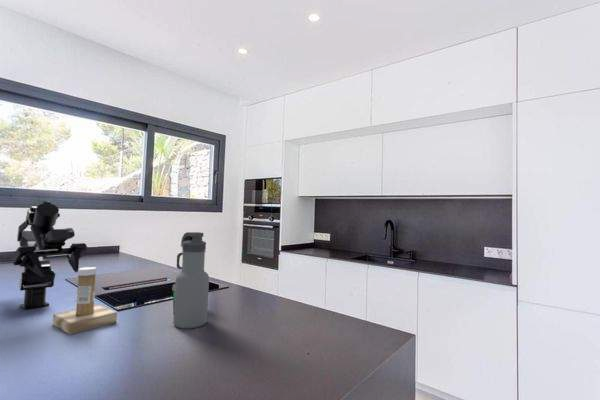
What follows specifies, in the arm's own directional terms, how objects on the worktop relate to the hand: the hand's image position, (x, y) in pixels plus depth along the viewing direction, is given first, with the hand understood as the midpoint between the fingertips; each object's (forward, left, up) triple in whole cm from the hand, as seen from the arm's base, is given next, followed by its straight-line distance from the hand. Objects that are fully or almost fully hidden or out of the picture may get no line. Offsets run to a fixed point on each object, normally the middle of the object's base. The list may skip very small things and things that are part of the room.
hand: (60, 273), depth 97 cm
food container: (+25, +30, -14) cm, 41 cm away
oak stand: (+12, +3, -14) cm, 18 cm away
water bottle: (+36, +22, -14) cm, 44 cm away
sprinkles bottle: (+11, +3, -11) cm, 16 cm away
